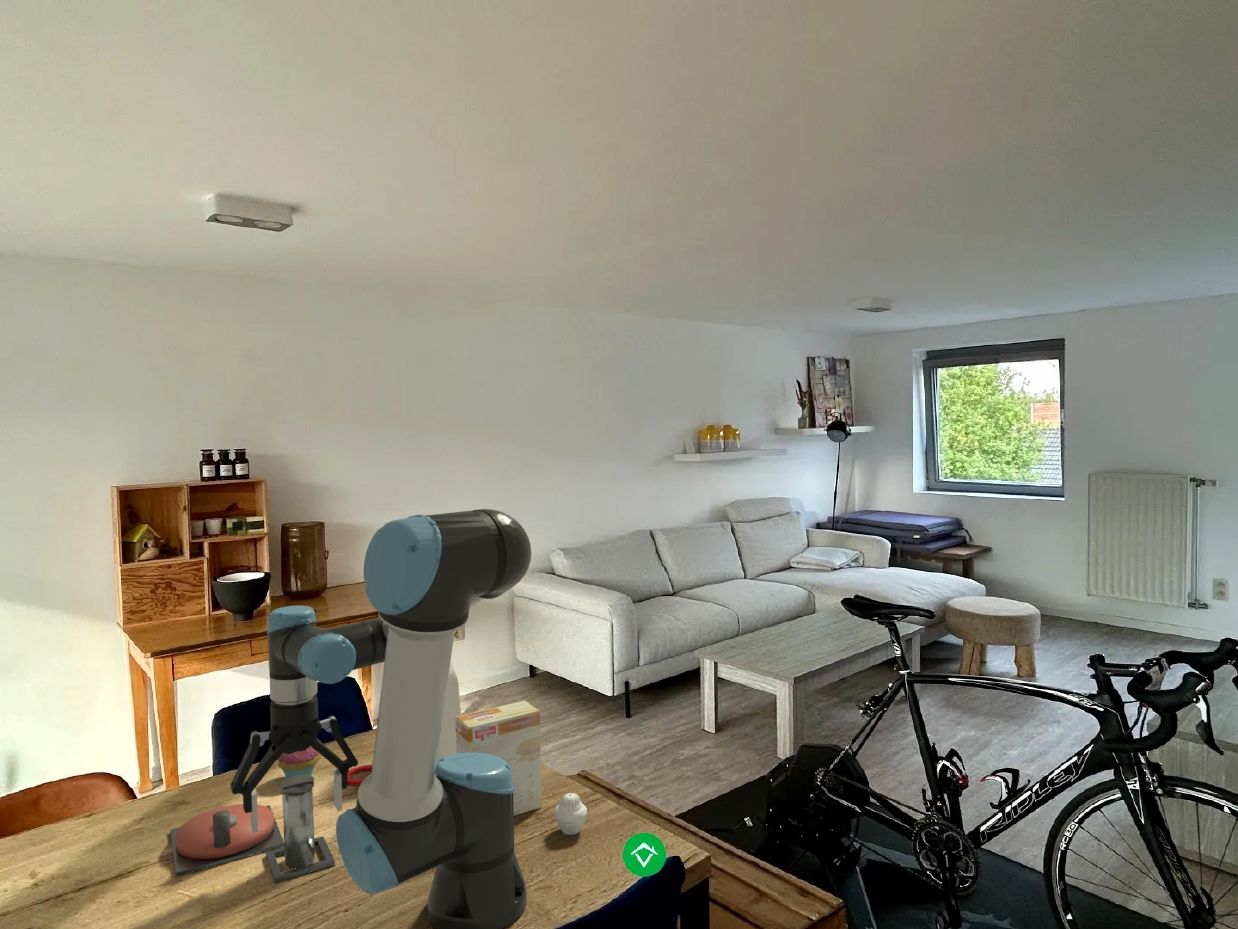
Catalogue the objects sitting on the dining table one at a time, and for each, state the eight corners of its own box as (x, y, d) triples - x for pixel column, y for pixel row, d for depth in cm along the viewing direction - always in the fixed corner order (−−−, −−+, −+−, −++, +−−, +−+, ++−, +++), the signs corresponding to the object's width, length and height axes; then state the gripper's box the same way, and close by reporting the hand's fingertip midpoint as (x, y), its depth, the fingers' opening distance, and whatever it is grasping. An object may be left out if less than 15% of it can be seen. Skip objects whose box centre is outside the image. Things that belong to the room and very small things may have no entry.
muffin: (547, 834, 144) (546, 796, 144) (566, 819, 150) (565, 783, 149) (575, 843, 141) (575, 804, 141) (594, 827, 146) (593, 790, 146)
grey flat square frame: (335, 865, 135) (335, 860, 135) (274, 883, 130) (274, 878, 130) (323, 840, 143) (323, 836, 143) (265, 856, 138) (265, 852, 138)
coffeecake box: (527, 794, 160) (525, 699, 159) (543, 808, 154) (541, 710, 153) (456, 814, 152) (454, 715, 151) (470, 830, 146) (468, 727, 145)
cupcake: (269, 785, 166) (267, 728, 165) (296, 767, 174) (294, 714, 173) (303, 790, 163) (301, 733, 163) (330, 772, 171) (328, 718, 171)
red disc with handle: (182, 823, 148) (181, 786, 148) (275, 806, 154) (274, 771, 154) (169, 868, 133) (167, 827, 133) (272, 847, 139) (271, 808, 139)
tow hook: (336, 788, 165) (380, 786, 164) (331, 727, 164) (375, 725, 164) (352, 770, 173) (393, 769, 173) (347, 712, 173) (389, 710, 172)
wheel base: (284, 846, 141) (284, 843, 141) (175, 876, 132) (175, 873, 132) (269, 808, 156) (269, 805, 156) (170, 832, 147) (170, 829, 147)
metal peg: (319, 863, 136) (316, 783, 135) (286, 873, 133) (282, 792, 132) (313, 849, 140) (310, 772, 140) (280, 858, 137) (277, 779, 137)
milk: (410, 772, 171) (407, 654, 169) (398, 753, 181) (394, 641, 179) (464, 760, 176) (461, 645, 175) (449, 742, 186) (446, 633, 185)
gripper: (362, 678, 145) (365, 790, 146) (210, 705, 132) (214, 828, 133) (373, 690, 138) (376, 808, 140) (214, 720, 125) (219, 849, 127)
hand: (297, 818), depth 136 cm, fingers open, 13 cm apart
